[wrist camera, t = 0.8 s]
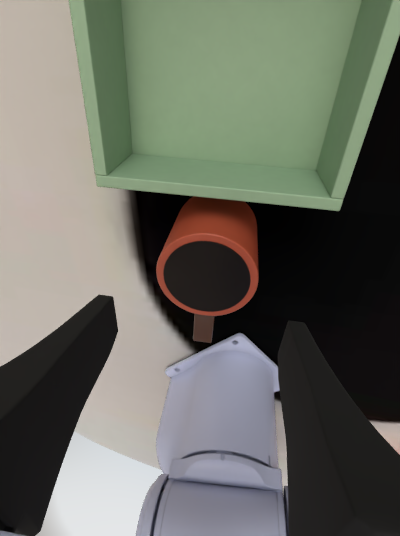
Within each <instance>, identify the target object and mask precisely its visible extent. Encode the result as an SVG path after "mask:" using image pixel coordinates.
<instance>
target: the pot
mask: <svg viewBox="0 0 400 536" xmlns="http://www.w3.org/2000/svg"><path fill="white" fill-rule="evenodd" d="M156 272H157V279H158V282H159V285H160V287H161V289H162V291H163V292H164V293H165V295H166V296H167V297H168V298H169V299H170V300H171V301H172V302H173V303H175V304H176V305H177V306H179V307H180V308H182V309H184V310H186V311H189V312H192V313H195V316H194V335H193V340H194V341H201V342H208V343H211V342H212V334H213V325H214V316H218V315H224V314H228V313H231V312H234V311H236V310H238V309H240V308H241V307H243V306H244V305H245V304H247V303H248V302H249V301H250V299H251V298H252V297H253V295H254V293H255V291H256V289H257V286H258V279H259V278H258V240H257V222H256V218H255V215H254V213H253V211H252V210H251V208H250V207H249V205H248V204H247V203H246V202H245V201H235V200H226V199H216V198H206V197H196V196H193V197H192V198H191V199H189V200H188V201H187V202H186V203H185V204H184V205H183V207H182V208H181V210H180V212H179V214H178V216H177V219H176V221H175V223H174V225H173V228H172V230H171V232H170V234H169V237H168V239H167V241H166V243H165V245H164V248H163V250H162V252H161V254H160V257H159V259H158V262H157V270H156Z"/></svg>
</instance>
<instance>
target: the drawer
mask: <svg viewBox="0 0 400 536" xmlns="http://www.w3.org/2000/svg"><path fill="white" fill-rule="evenodd" d="M69 5H70V12H71V19H72V25H73V32H74V38H75V45H76V51H77V58H78V65H79V71H80V78H81V84H82V91H83V98H84V104H85V111H86V117H87V124H88V130H89V137H90V144H91V150H92V157H93V163H94V170H95V174H96V182H97V186H98V187H108V188H117V189H127V190H137V191H147V192H157V193H167V194H176V195H186V196H196V197H206V198H216V199H226V200H235V201H245V202H255V203H265V204H275V205H285V206H294V207H304V208H314V209H324V210H334V211H339V210H340V208H341V205H342V202H343V198H344V196H345V193H346V190H347V187H348V185H349V182H350V179H351V176H352V173H353V170H354V167H355V164H356V161H357V158H358V155H359V152H360V149H361V146H362V144H363V141H364V138H365V135H366V132H367V129H368V126H369V123H370V120H371V117H372V114H373V111H374V108H375V105H376V103H377V100H378V97H379V94H380V91H381V88H382V85H383V82H384V79H385V76H386V73H387V70H388V67H389V65H390V62H391V59H392V56H393V53H394V50H395V47H396V44H397V41H398V38H399V35H400V0H69Z"/></svg>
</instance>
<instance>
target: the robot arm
mask: <svg viewBox="0 0 400 536" xmlns="http://www.w3.org/2000/svg"><path fill="white" fill-rule="evenodd" d="M117 332H118V327H117V320H116V313H115V307H114V300H113V297H112V296H105V295H98V296H97V297H95V298H94V299H93V300H92V301H91V302H89V303H88V304H87V305H86V306H85V307H83V308H82V309H81V310H80V311H79V312H77V313H76V314H75V315H74V316H73V317H71V318H70V319H69V320H68V321H66V322H65V323H64V324H63V325H61V326H60V327H59V328H58V329H56V330H55V331H54V332H52V333H51V334H50V335H48V336H47V337H45V338H44V339H43V340H41V341H40V342H39V343H37V344H36V345H34V346H33V347H31V348H30V349H29V350H27V351H26V352H24V353H22V354H21V355H19V356H18V357H16V358H14V359H13V360H11V361H10V362H8V363H6V364H4V365H3V366H1V367H0V536H35V535H36V534H38V533H39V532H40V531H41V528H42V524H43V521H44V518H45V515H46V511H47V508H48V505H49V502H50V499H51V495H52V492H53V489H54V486H55V483H56V480H57V477H58V474H59V471H60V468H61V465H62V462H63V459H64V457H65V454H66V451H67V448H68V446H69V443H70V440H71V437H72V435H73V432H74V430H75V427H76V424H77V422H78V419H79V417H80V414H81V412H82V409H83V407H84V405H85V403H86V401H87V399H88V397H89V395H90V393H91V391H92V389H93V387H94V385H95V383H96V381H97V379H98V377H99V375H100V373H101V371H102V369H103V367H104V365H105V363H106V361H107V359H108V357H109V355H110V352H111V350H112V347H113V344H114V341H115V338H116V335H117ZM165 374H166V375H167V376H169V377H170V378H171V380H170V384H169V388H168V392H167V396H166V400H165V404H164V408H163V412H162V416H161V420H160V424H159V428H158V432H157V439H156V450H157V457H158V462H159V465H160V468H161V470H162V471H163V473H164V474H161V475H160V476H159V477H158V478H157V480H156V481H155V482H154V483H153V484H152V486H151V487H150V489H149V491H148V493H147V495H146V497H145V500H144V503H143V506H142V509H141V513H140V517H139V521H138V526H137V531H136V536H400V455H399V454H398V453H397V452H396V451H395V450H394V449H393V448H392V446H391V445H390V444H389V443H388V442H387V441H386V440H385V439H384V438H383V437H382V436H381V435H380V433H379V432H378V431H377V430H376V429H375V428H374V426H373V425H372V424H371V423H370V422H369V420H368V419H367V418H366V417H365V416H364V414H363V413H362V412H361V411H360V409H359V408H358V407H357V405H356V404H355V403H354V402H353V400H352V399H351V397H350V396H349V395H348V393H347V392H346V390H345V389H344V388H343V386H342V385H341V383H340V382H339V380H338V379H337V377H336V376H335V374H334V373H333V371H332V370H331V368H330V366H329V365H328V363H327V362H326V360H325V358H324V357H323V355H322V353H321V352H320V350H319V348H318V346H317V345H316V343H315V341H314V339H313V337H312V336H311V334H310V332H309V330H308V328H307V326H306V324H305V323H303V322H296V321H288V323H287V327H286V330H285V333H284V336H283V339H282V342H281V346H280V349H279V352H278V366H277V365H276V364H275V363H274V362H273V361H272V360H271V359H269V358H268V357H267V356H266V355H265V354H264V353H263V352H262V351H261V350H260V349H259V348H258V347H257V346H256V345H255V344H254V343H253V342H252V341H250V340H249V339H248V338H247V337H246V336H245V335H244V334H242V333H237V334H235V335H233V336H231V337H229V338H227V339H225V340H223V341H221V342H219V343H217V344H215V345H213V346H210V347H208V348H206V349H204V350H202V351H200V352H198V353H196V354H194V355H192V356H190V357H188V358H186V359H184V360H182V361H180V362H178V363H176V364H174V365H172V366H170V367H168V368H166V371H165ZM279 390H280V397H281V404H282V412H283V419H284V427H285V434H286V445H287V470H288V486H284V493H283V489H282V474H281V469H279V468H278V452H277V436H276V420H275V404H274V392H276V391H279Z"/></svg>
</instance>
